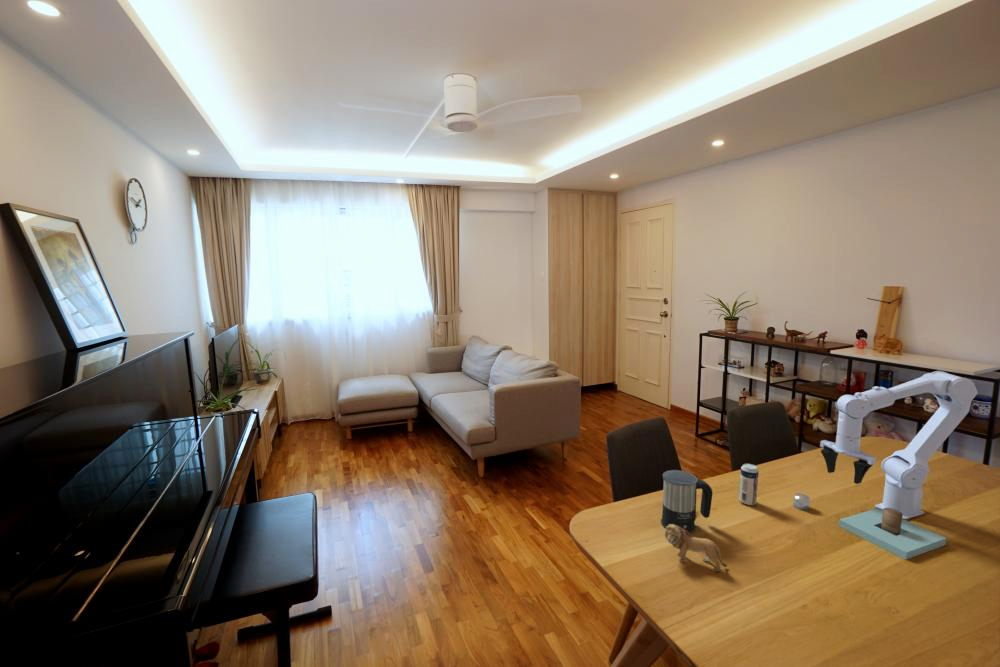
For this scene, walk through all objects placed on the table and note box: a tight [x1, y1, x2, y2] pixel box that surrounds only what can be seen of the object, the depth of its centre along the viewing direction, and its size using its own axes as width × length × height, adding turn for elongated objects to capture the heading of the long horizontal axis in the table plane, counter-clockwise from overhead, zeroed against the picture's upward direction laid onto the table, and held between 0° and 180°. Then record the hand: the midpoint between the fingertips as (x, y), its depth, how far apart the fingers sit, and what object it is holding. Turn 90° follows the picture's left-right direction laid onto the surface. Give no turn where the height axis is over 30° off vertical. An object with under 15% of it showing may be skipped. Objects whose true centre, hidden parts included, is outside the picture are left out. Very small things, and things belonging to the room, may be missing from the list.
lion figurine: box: [664, 524, 728, 572], centre depth 111 cm, size 15×5×9 cm, turn 72°
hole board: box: [838, 507, 947, 560], centre depth 122 cm, size 17×16×2 cm
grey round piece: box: [792, 492, 811, 511], centre depth 137 cm, size 4×4×4 cm
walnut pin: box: [881, 508, 903, 536], centre depth 122 cm, size 4×4×7 cm
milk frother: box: [660, 469, 713, 534], centre depth 131 cm, size 14×16×15 cm
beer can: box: [738, 463, 760, 506], centre depth 139 cm, size 5×5×12 cm
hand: (844, 477), depth 136 cm, fingers open, 7 cm apart
